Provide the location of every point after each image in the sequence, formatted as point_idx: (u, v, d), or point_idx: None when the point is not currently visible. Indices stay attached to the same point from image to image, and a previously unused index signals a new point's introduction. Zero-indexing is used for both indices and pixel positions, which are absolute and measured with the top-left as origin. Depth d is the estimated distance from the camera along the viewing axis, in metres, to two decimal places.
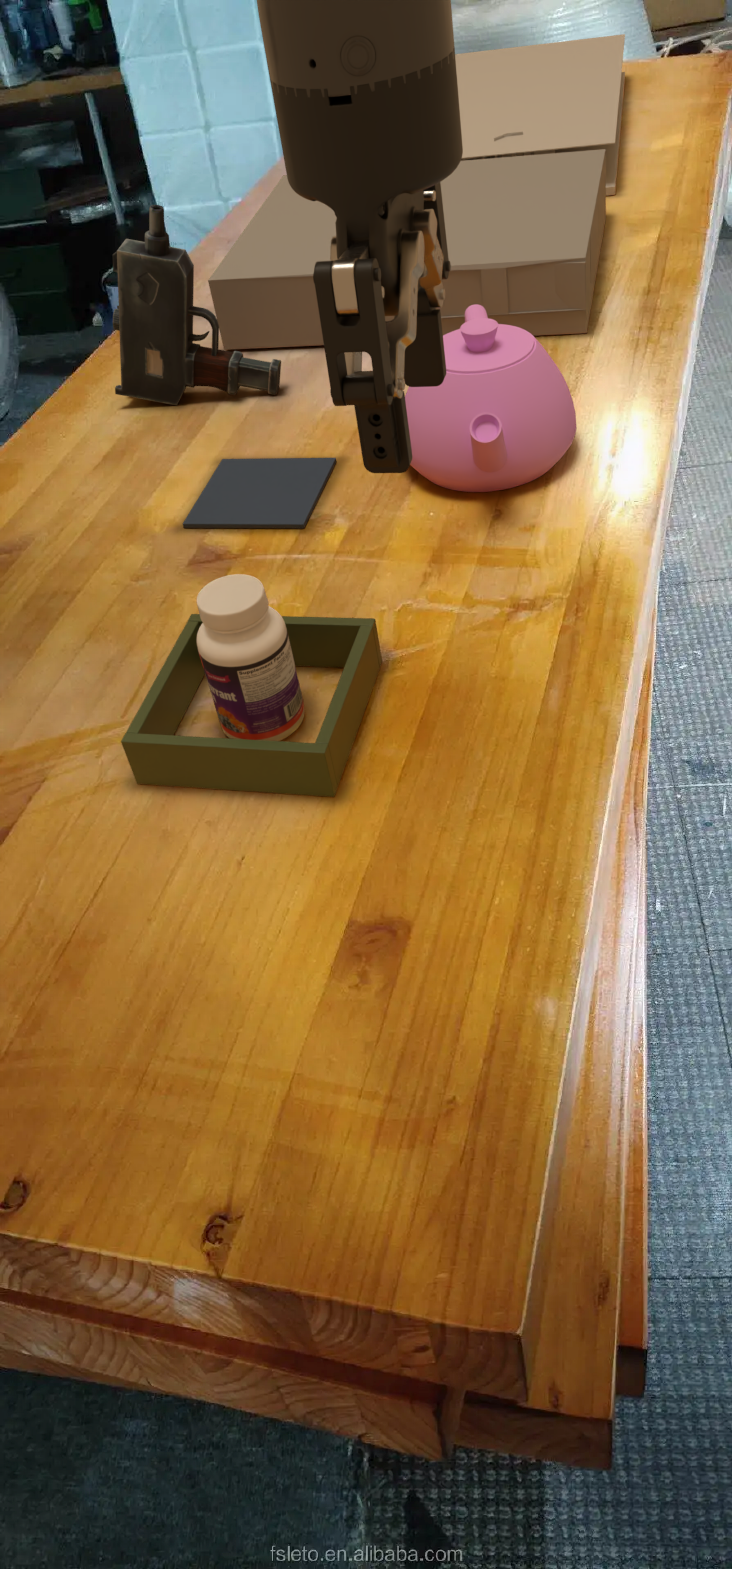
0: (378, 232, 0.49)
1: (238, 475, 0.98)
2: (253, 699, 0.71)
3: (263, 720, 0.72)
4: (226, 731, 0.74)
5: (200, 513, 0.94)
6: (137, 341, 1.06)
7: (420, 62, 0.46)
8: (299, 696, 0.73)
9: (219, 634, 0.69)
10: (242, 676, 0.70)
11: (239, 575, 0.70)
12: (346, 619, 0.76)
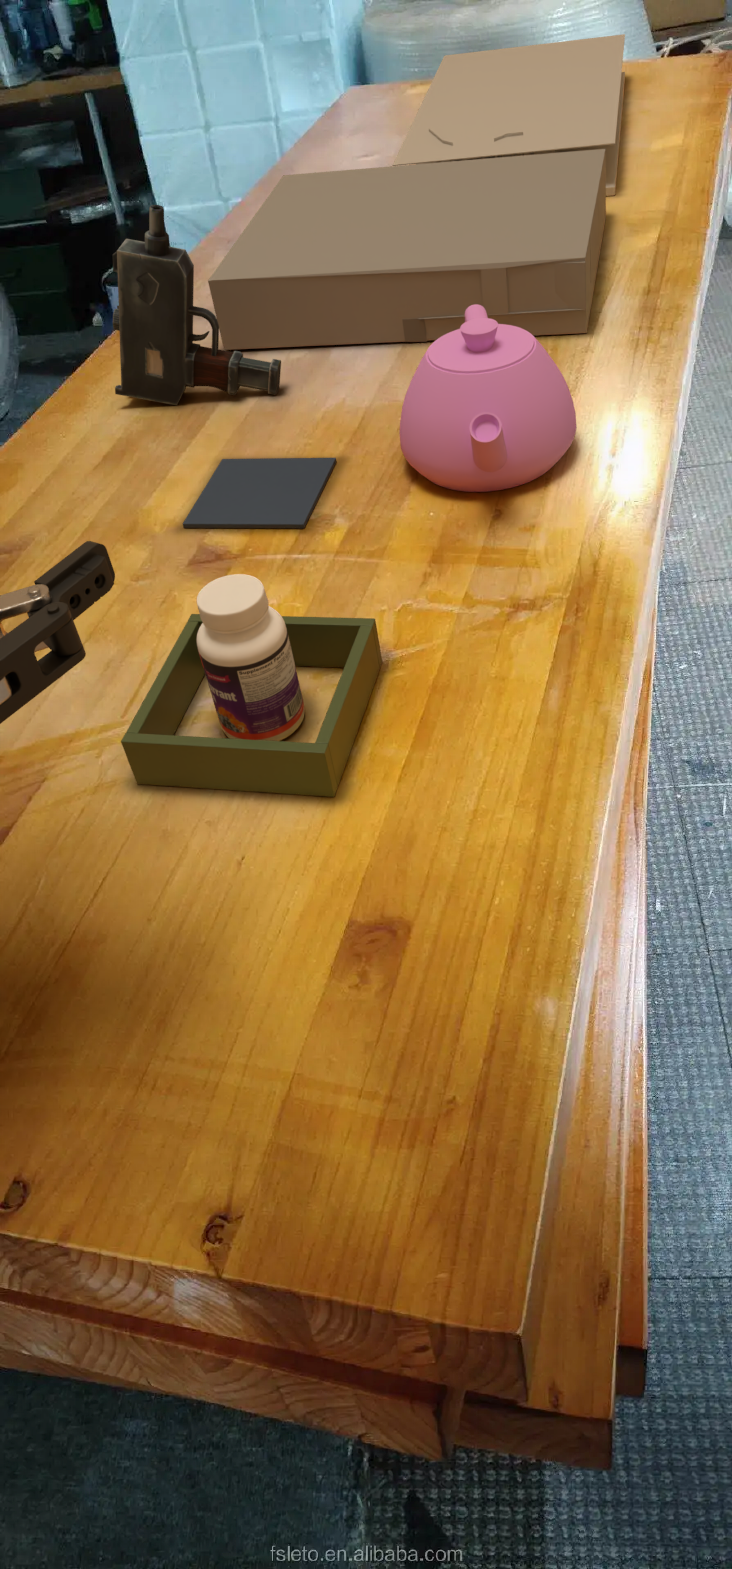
0: None
1: (238, 475, 0.98)
2: (253, 699, 0.71)
3: (263, 719, 0.72)
4: (226, 731, 0.74)
5: (200, 513, 0.94)
6: (137, 341, 1.06)
7: None
8: (299, 696, 0.73)
9: (219, 634, 0.69)
10: (242, 676, 0.70)
11: (239, 575, 0.70)
12: (346, 619, 0.76)
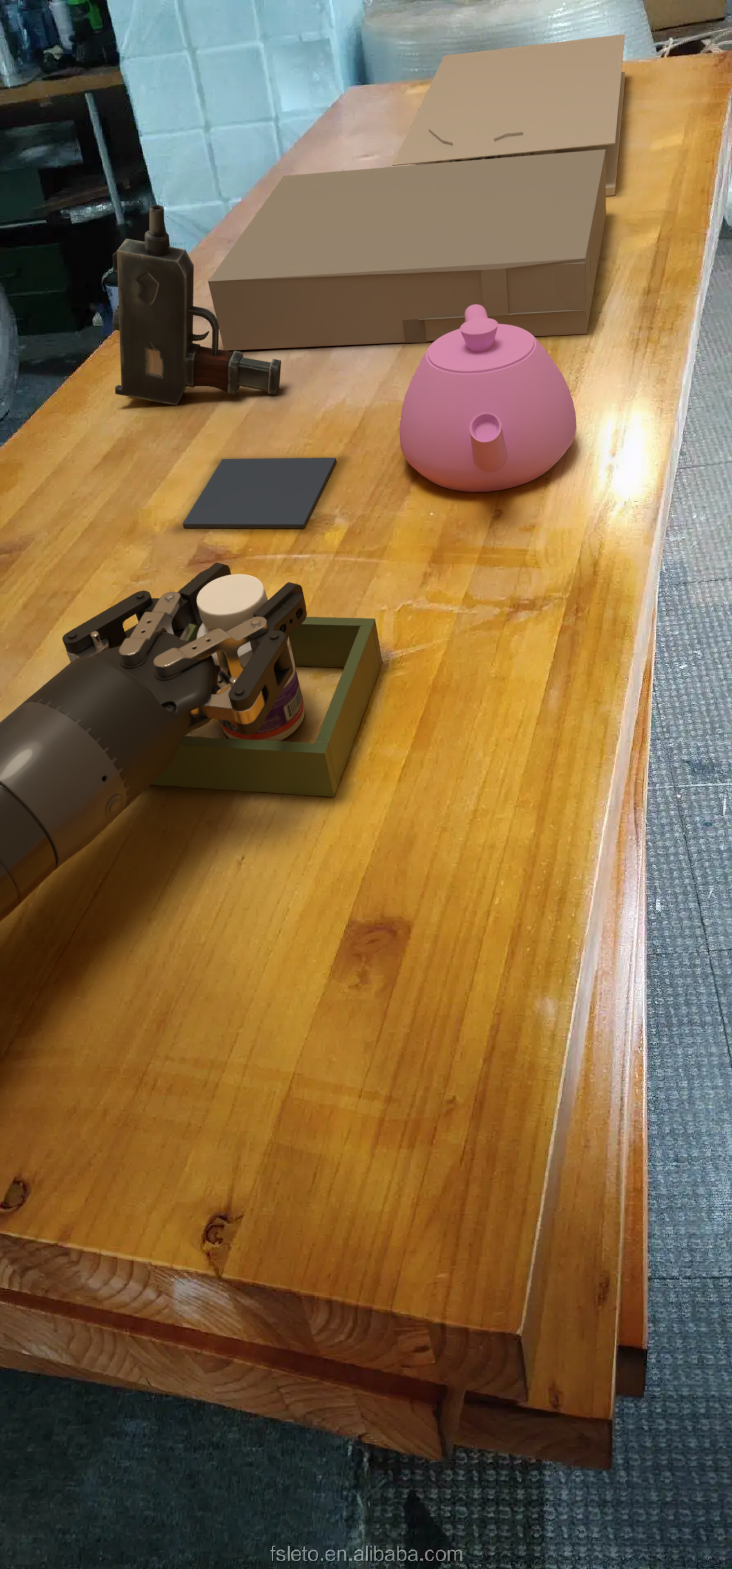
0: None
1: (238, 475, 0.98)
2: None
3: None
4: (226, 731, 0.74)
5: (200, 513, 0.94)
6: (137, 341, 1.06)
7: None
8: (299, 696, 0.73)
9: None
10: None
11: (239, 575, 0.70)
12: (346, 619, 0.76)
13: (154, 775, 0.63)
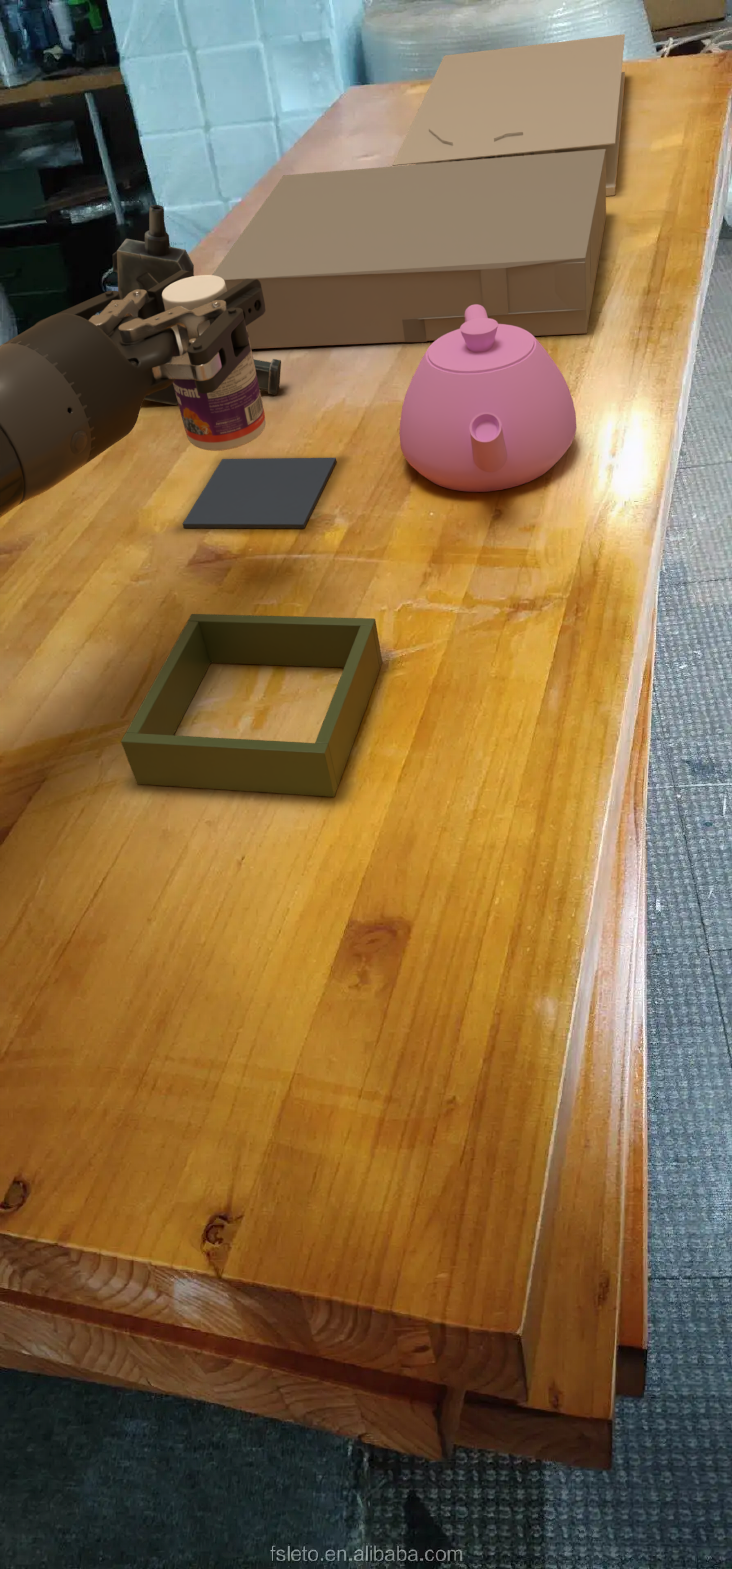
0: None
1: (238, 475, 0.98)
2: (215, 394, 0.75)
3: (225, 419, 0.77)
4: (191, 437, 0.78)
5: (200, 513, 0.94)
6: None
7: None
8: (260, 403, 0.78)
9: None
10: None
11: (202, 275, 0.75)
12: (346, 619, 0.76)
13: (118, 427, 0.67)
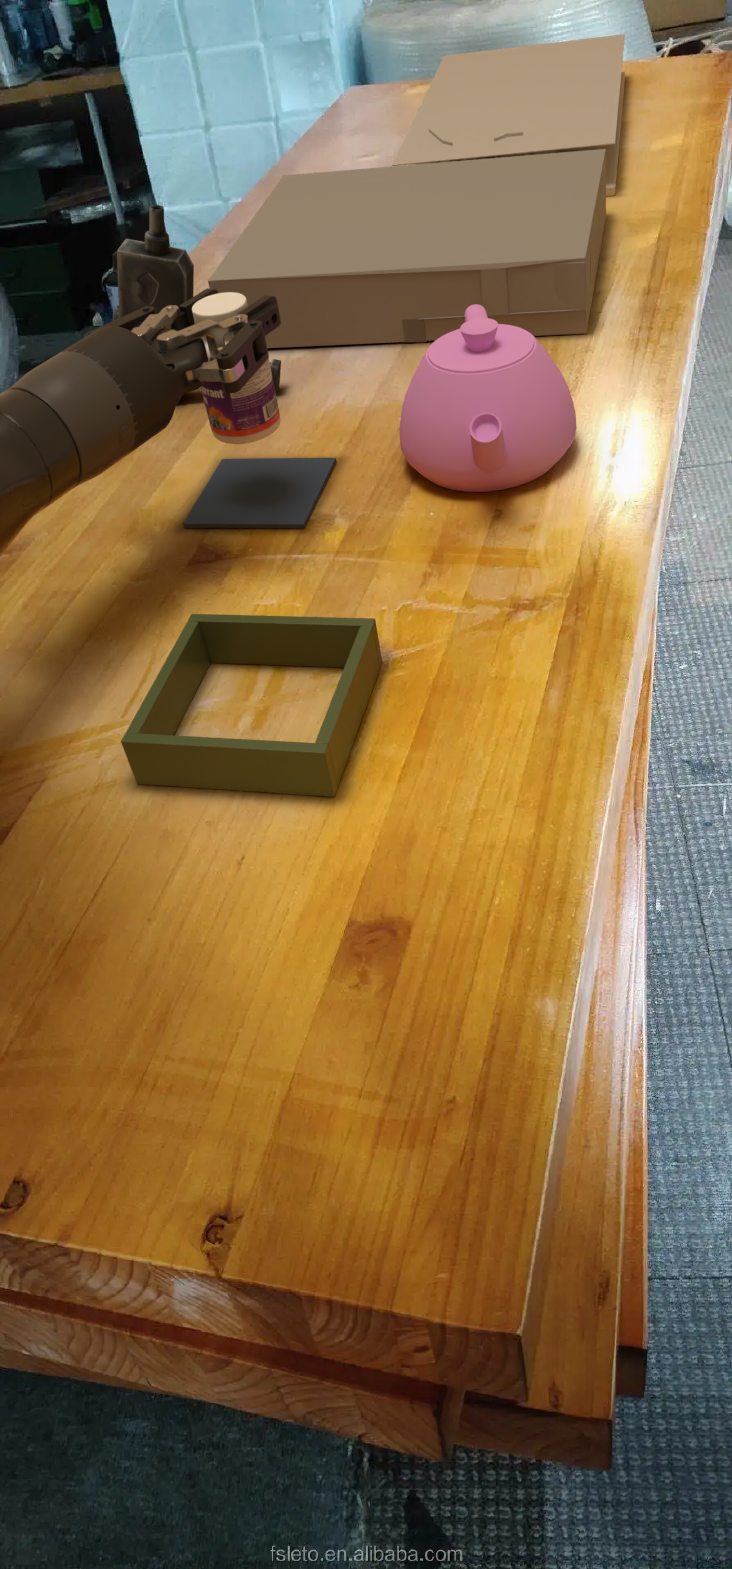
0: None
1: (238, 475, 0.98)
2: (237, 395, 0.87)
3: (246, 416, 0.88)
4: (216, 432, 0.90)
5: (200, 513, 0.94)
6: None
7: None
8: (275, 402, 0.90)
9: None
10: None
11: (226, 292, 0.86)
12: (346, 619, 0.76)
13: (157, 422, 0.79)
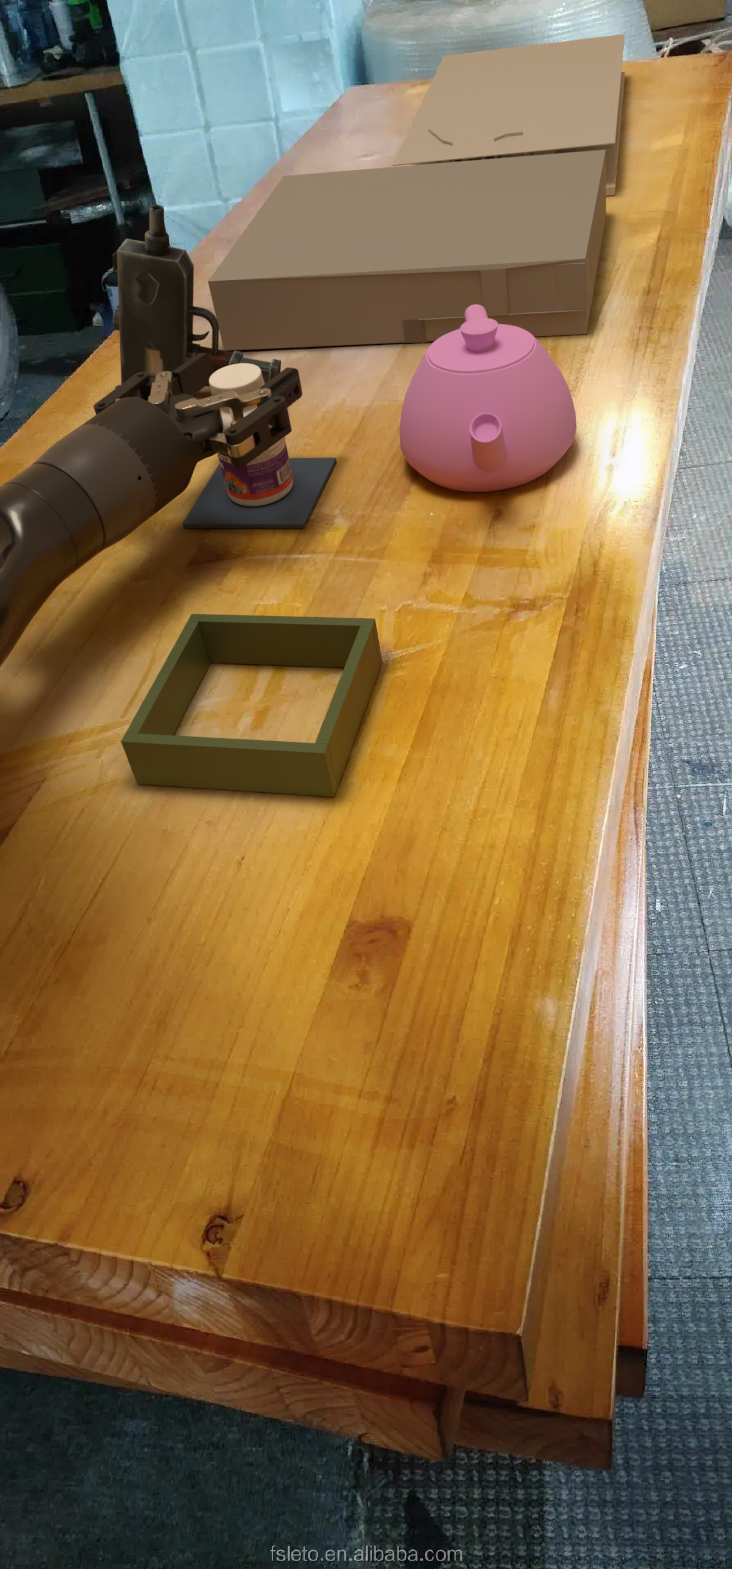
0: None
1: None
2: (252, 461, 0.91)
3: (260, 481, 0.92)
4: (231, 495, 0.94)
5: (200, 513, 0.94)
6: (137, 341, 1.06)
7: None
8: (289, 466, 0.94)
9: (226, 407, 0.89)
10: None
11: (242, 363, 0.90)
12: (346, 619, 0.76)
13: (175, 488, 0.83)
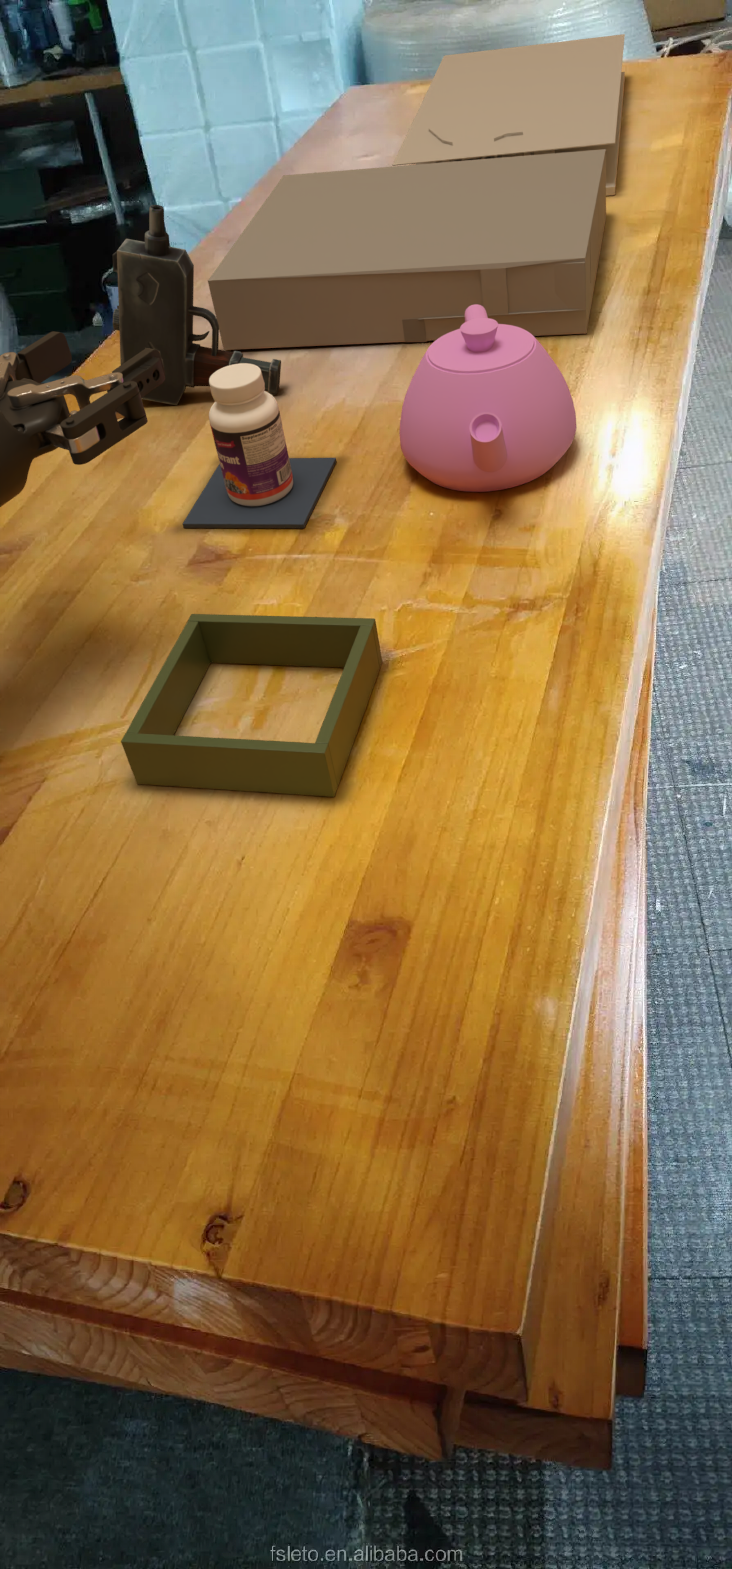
0: None
1: None
2: (252, 461, 0.91)
3: (260, 481, 0.92)
4: (231, 495, 0.94)
5: (200, 513, 0.94)
6: (137, 341, 1.06)
7: None
8: (289, 466, 0.94)
9: (226, 407, 0.89)
10: (244, 441, 0.90)
11: (242, 364, 0.90)
12: (346, 619, 0.76)
13: (6, 489, 0.71)
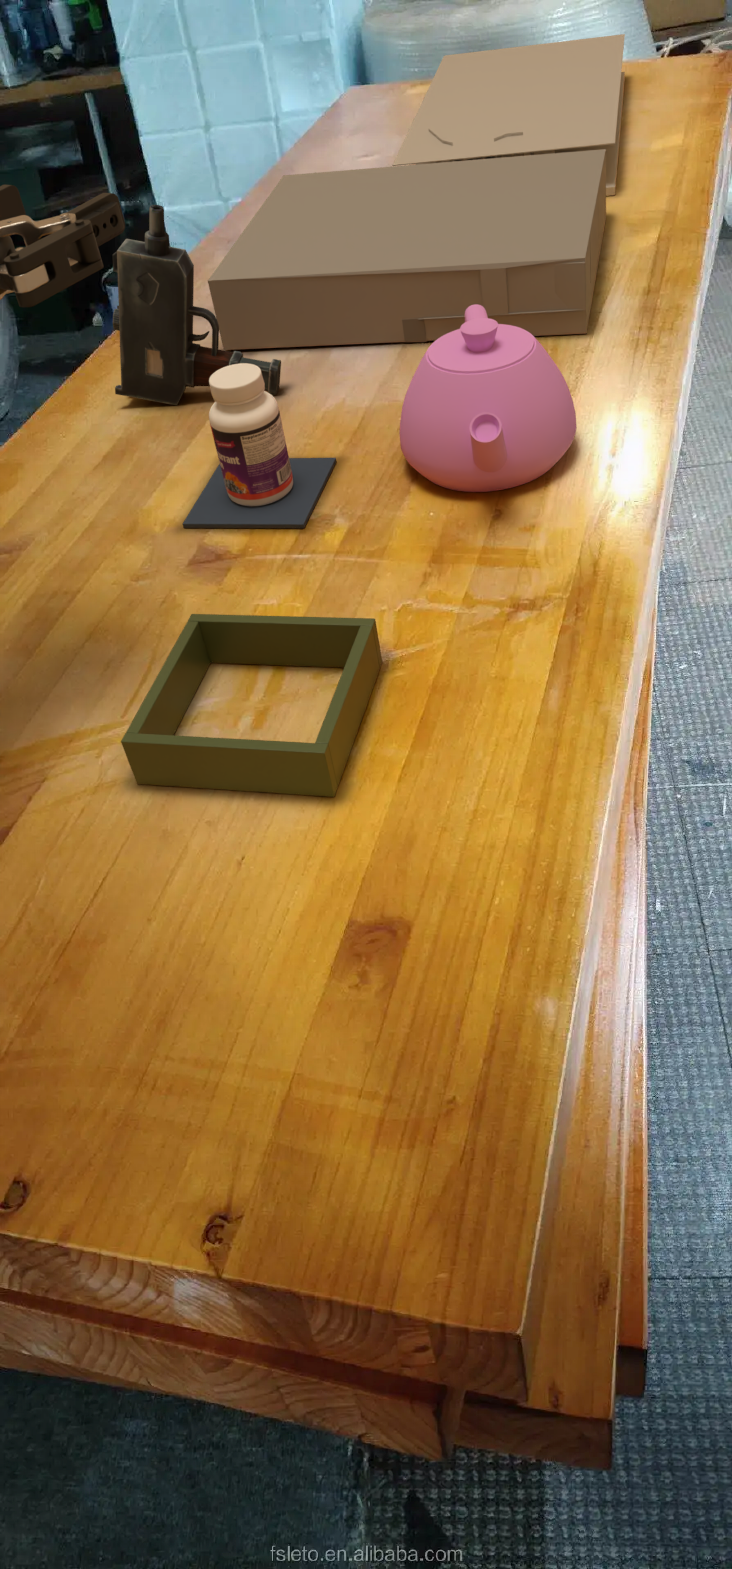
0: None
1: None
2: (252, 461, 0.91)
3: (260, 481, 0.92)
4: (231, 495, 0.94)
5: (200, 513, 0.94)
6: (137, 341, 1.06)
7: None
8: (289, 466, 0.94)
9: (226, 407, 0.89)
10: (244, 441, 0.90)
11: (242, 364, 0.90)
12: (346, 619, 0.76)
13: None
